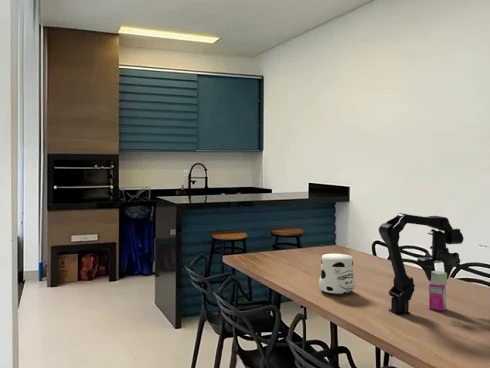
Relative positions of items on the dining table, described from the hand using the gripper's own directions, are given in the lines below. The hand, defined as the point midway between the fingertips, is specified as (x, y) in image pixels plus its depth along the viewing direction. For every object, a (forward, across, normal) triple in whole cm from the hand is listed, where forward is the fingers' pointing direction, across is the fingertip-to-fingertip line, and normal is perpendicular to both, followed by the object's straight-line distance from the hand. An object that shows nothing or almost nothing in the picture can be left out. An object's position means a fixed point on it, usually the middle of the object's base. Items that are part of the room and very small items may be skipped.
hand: (438, 280), depth 203 cm
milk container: (+13, -30, +36) cm, 49 cm away
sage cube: (+2, 0, 0) cm, 2 cm away
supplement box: (+13, 0, 0) cm, 13 cm away
